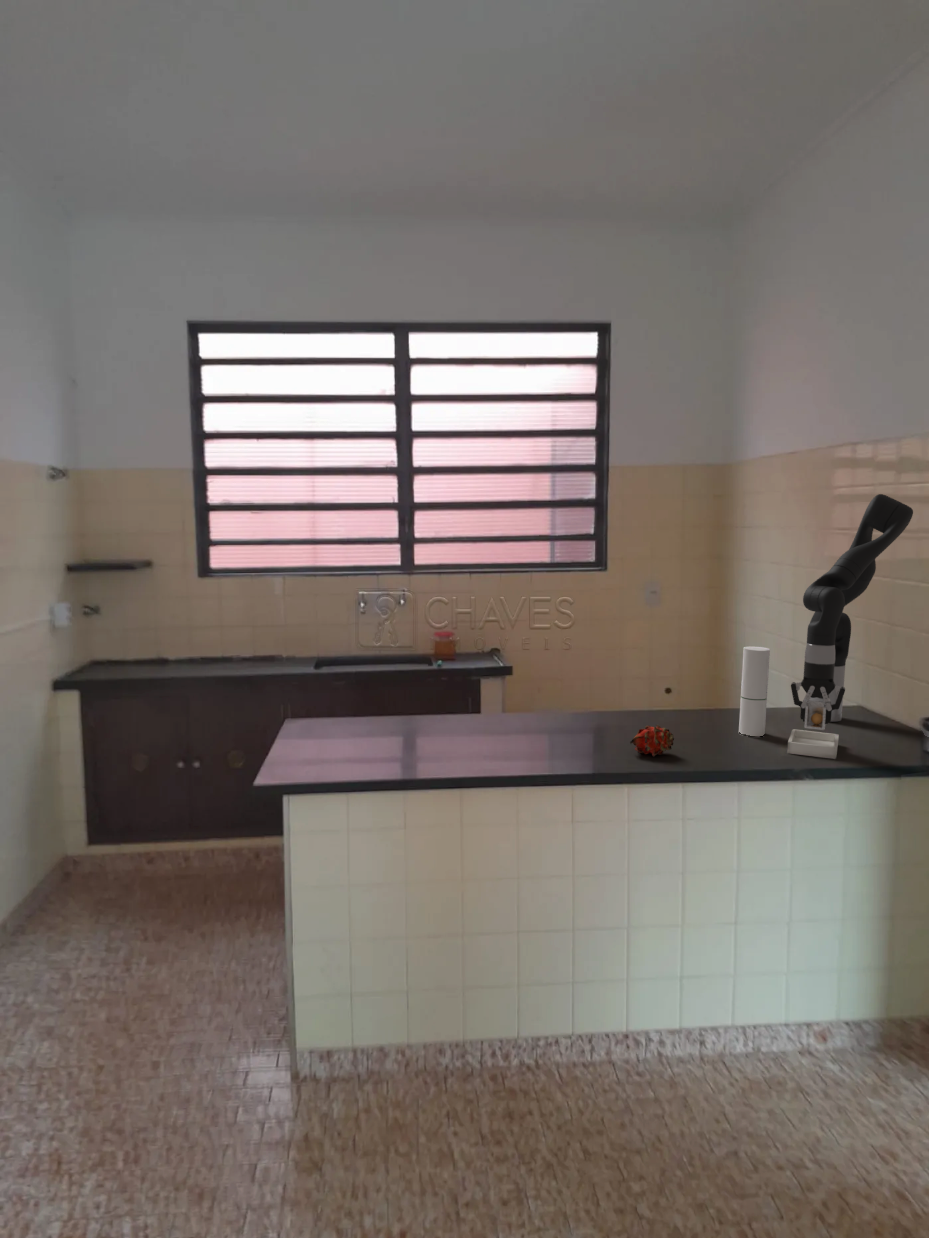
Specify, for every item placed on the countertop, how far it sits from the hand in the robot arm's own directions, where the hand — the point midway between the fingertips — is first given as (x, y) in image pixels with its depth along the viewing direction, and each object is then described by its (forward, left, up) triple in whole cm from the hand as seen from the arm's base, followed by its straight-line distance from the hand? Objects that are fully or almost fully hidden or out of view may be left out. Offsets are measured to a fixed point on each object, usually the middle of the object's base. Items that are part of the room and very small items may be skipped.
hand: (815, 722), depth 233 cm
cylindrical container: (-18, -6, -8) cm, 21 cm away
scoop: (0, 0, -1) cm, 1 cm away
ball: (+1, 0, +1) cm, 1 cm away
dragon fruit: (-9, -45, -8) cm, 47 cm away
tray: (0, 0, -7) cm, 7 cm away
